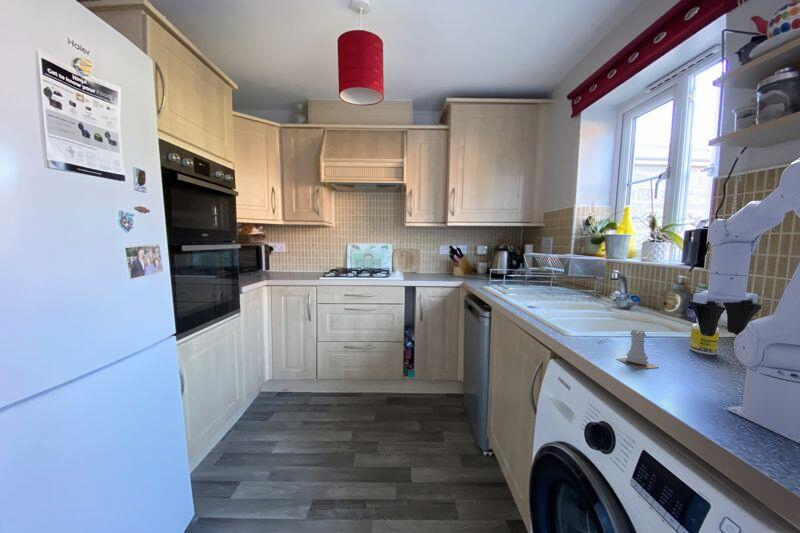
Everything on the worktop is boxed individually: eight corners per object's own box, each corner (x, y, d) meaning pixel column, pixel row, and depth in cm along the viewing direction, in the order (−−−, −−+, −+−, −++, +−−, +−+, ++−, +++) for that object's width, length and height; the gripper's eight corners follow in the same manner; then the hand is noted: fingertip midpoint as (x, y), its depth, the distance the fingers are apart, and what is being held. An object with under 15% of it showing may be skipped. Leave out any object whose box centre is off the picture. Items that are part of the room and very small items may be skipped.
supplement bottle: (698, 354, 81) (702, 319, 80) (684, 347, 86) (687, 314, 85) (722, 356, 80) (726, 321, 79) (706, 348, 85) (710, 316, 84)
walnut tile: (658, 369, 72) (658, 367, 72) (638, 371, 71) (638, 368, 71) (635, 359, 77) (635, 357, 77) (615, 361, 76) (616, 358, 76)
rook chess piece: (653, 365, 72) (654, 332, 72) (637, 364, 71) (638, 331, 71) (636, 359, 76) (637, 329, 77) (621, 359, 76) (622, 328, 76)
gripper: (732, 272, 69) (725, 327, 71) (680, 272, 67) (674, 329, 69) (774, 275, 62) (765, 337, 64) (718, 276, 60) (710, 339, 62)
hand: (721, 333), depth 66 cm, fingers open, 7 cm apart
